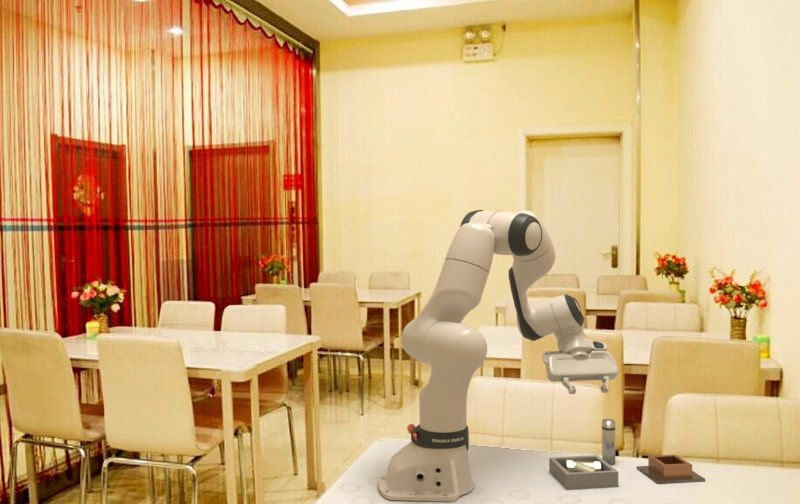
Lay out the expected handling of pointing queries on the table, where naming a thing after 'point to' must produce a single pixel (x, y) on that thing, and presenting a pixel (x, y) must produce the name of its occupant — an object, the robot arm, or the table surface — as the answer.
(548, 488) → the table surface
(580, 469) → the pipe fitting
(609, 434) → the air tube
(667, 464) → the collar
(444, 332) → the robot arm
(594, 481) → the parts corral
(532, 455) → the table surface
